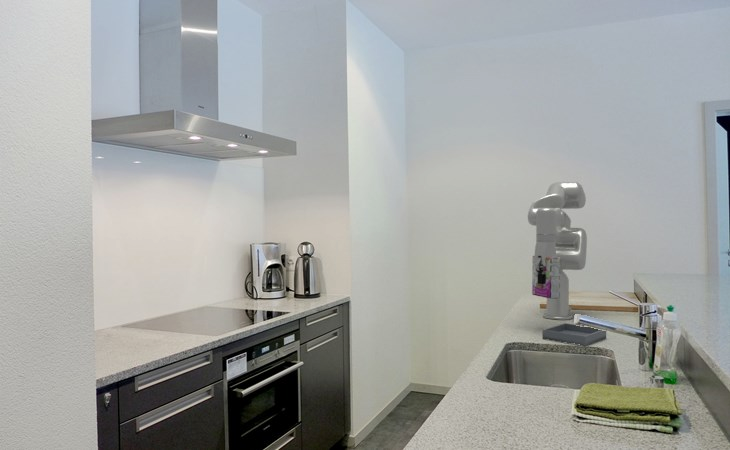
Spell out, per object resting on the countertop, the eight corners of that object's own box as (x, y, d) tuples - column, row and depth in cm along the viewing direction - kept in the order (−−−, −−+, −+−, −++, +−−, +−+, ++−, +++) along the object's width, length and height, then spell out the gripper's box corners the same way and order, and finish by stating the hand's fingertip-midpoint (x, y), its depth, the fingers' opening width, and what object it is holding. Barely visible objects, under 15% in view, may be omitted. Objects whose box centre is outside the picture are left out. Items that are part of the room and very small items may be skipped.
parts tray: (564, 331, 220) (564, 323, 220) (606, 338, 208) (606, 329, 208) (542, 338, 208) (542, 329, 208) (585, 346, 196) (585, 336, 196)
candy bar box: (531, 295, 227) (531, 255, 227) (541, 294, 229) (541, 255, 229) (550, 299, 217) (551, 257, 216) (560, 298, 219) (560, 257, 218)
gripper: (547, 237, 231) (547, 280, 231) (526, 239, 219) (526, 284, 219) (564, 238, 226) (564, 281, 226) (544, 239, 214) (543, 285, 214)
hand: (545, 282), depth 223 cm, fingers closed on candy bar box, 6 cm apart
